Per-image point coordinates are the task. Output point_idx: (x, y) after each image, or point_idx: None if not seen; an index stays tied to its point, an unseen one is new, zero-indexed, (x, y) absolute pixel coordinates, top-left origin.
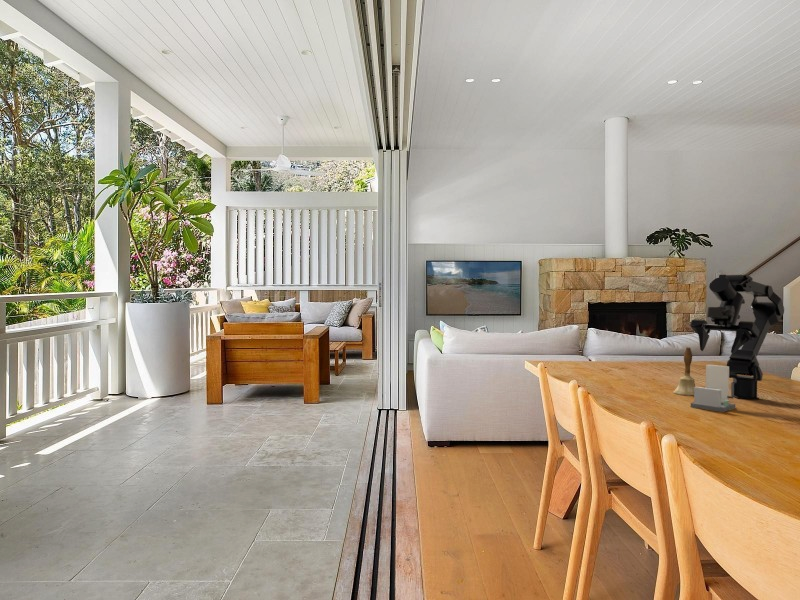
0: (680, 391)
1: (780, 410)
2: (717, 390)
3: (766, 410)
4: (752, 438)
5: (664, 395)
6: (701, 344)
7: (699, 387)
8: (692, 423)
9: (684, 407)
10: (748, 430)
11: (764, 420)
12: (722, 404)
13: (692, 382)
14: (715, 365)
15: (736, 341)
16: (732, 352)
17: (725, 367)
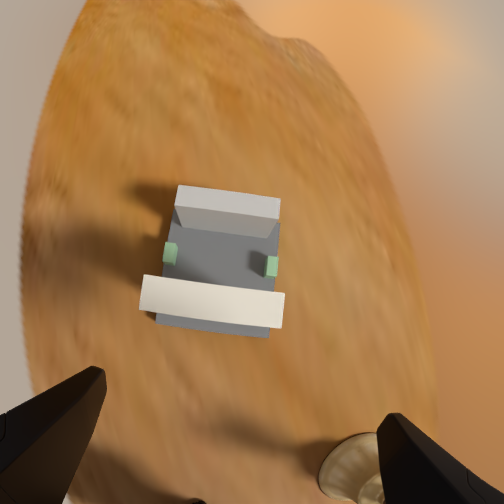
0: (374, 441)
1: (53, 376)
2: (186, 186)
3: (78, 349)
4: (112, 34)
5: (401, 378)
6: (419, 441)
7: (262, 205)
8: (212, 53)
9: (289, 209)
10: (112, 68)
11: (73, 181)
12: (188, 278)
13: (357, 483)
14: (224, 299)
15: (8, 421)
16: (92, 369)
17: (155, 276)
